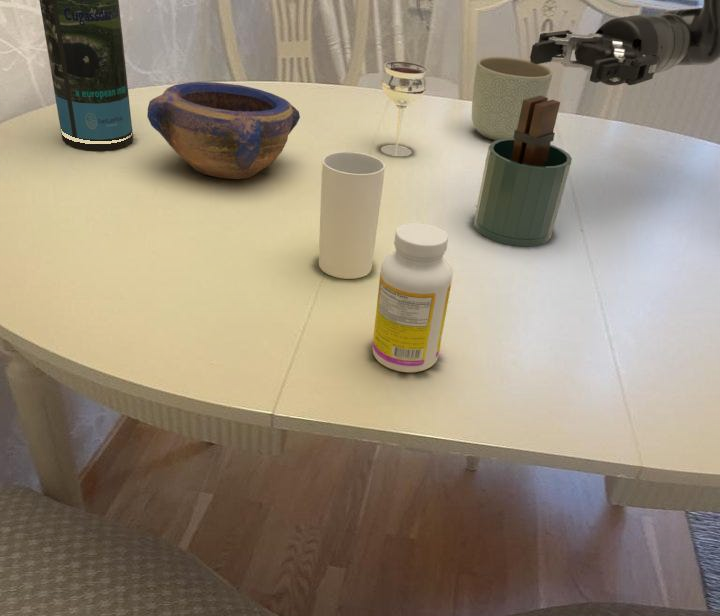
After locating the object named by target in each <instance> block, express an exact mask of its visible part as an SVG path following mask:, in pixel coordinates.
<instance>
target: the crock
mask: <svg viewBox="0 0 720 616" xmlns="http://www.w3.org/2000/svg"><path fill="white" fill-rule="evenodd" d="M514 141H515V139H513V138H511V139H501V140H496V141H495V140H493V141H492V142H491V143H489V145H488V148H487V153H486V158H485V163H484V168H483V173H482V178H481V182H480V188H479V193H478V199H477V204H476V209H475V213H474V221H473V226H474V229H475V230H476V231H477V232H478V233H479V234H480V235H482V236H483V237H485V238H487V239H489V240H491V241H494V242H496V243H500V244H503V245H508V246H515V247H537V246H541V245H543V244H546V243H547V242H549V241H550V240H551V238H552V234H553V231H554V227H555V223H556V220H557V217H558V213H559V209H560V206H561V201H562V198H563V195H564V191H565V188H566V184H567V180H568V176H569V172H570V168H571V164H572V161H573V158H572V156H571V155H570V154H569V153H568V152H566V150H564V149H562V148H560V147H558V146H556V145H553V144H550V147H549V151H548V156H547V160H546V164H545V167H542V166H531V165H526V164H521V163H517V162H514V161H511V156H512V151H513V146H514Z"/></svg>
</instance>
